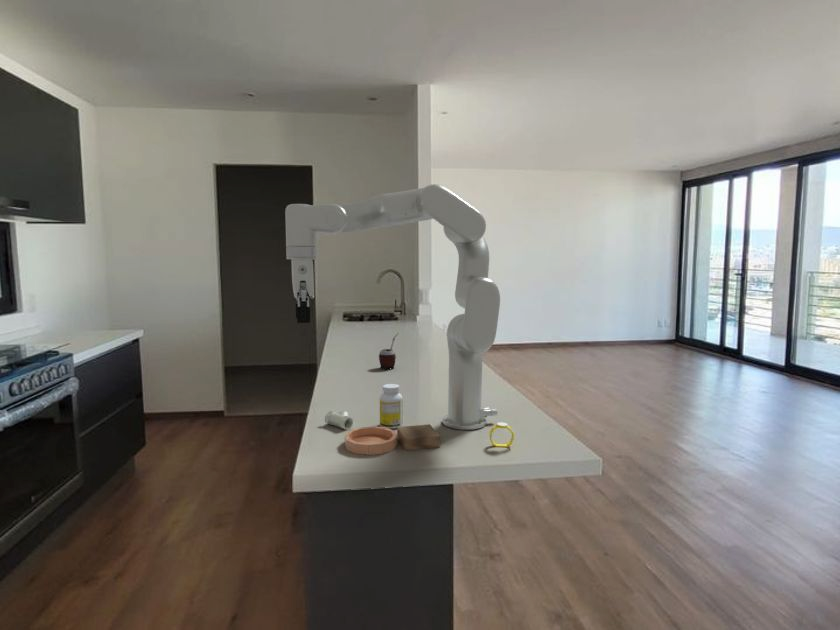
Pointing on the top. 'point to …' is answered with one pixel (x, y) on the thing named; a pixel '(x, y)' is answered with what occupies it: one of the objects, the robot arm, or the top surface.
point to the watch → (501, 425)
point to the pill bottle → (391, 407)
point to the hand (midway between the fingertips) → (302, 320)
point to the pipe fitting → (339, 419)
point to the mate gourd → (387, 357)
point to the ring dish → (370, 440)
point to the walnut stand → (418, 437)
